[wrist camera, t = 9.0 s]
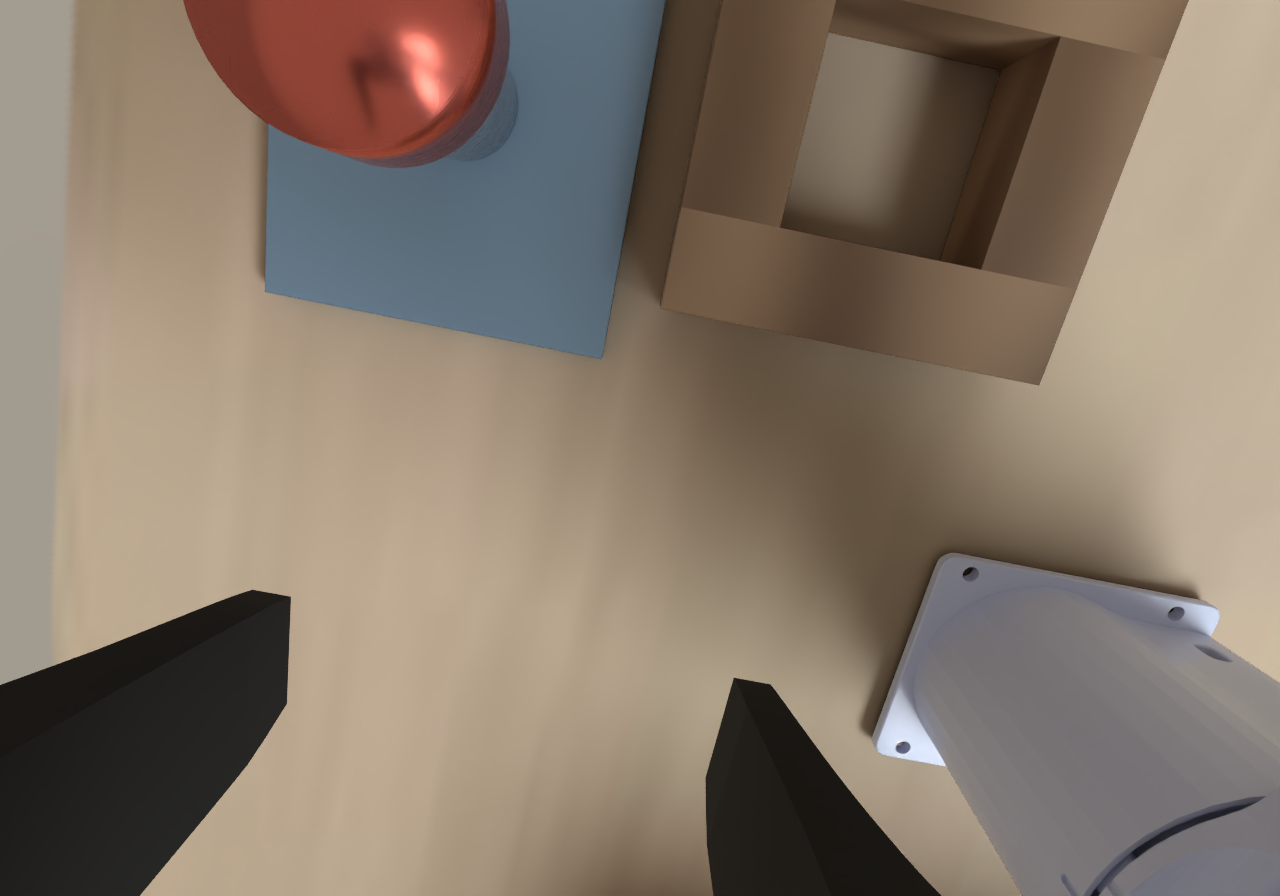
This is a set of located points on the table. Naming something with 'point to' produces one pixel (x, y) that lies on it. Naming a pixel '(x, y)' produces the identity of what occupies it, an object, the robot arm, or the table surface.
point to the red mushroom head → (369, 73)
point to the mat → (487, 196)
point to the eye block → (990, 200)
